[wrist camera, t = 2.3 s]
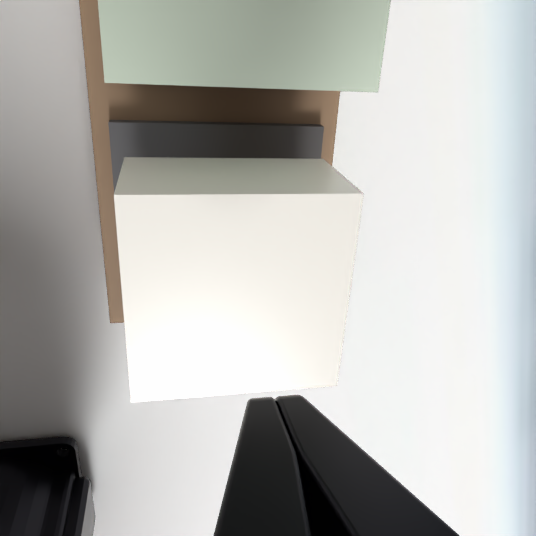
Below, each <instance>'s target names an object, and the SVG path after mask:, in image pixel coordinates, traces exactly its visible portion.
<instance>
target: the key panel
mask: <svg viewBox="0 0 536 536" xmlns="http://www.w3.org/2000/svg"><path fill="white" fill-rule="evenodd" d="M79 4H80V15H81V25H82V35H83V46H84V56H85V67H86V77H87V87H88V98H89V108H90V118H91V129H92V139H93V150H94V160H95V170H96V181H97V191H98V201H99V212H100V222H101V233H102V243H103V253H104V264H105V274H106V284H107V295H108V305H109V316H110V323H123V322H124V313H123V301H122V289H121V277H120V265H119V253H118V240H117V228H116V216H115V204H114V192H115V189H116V185H117V182H118V178H119V175H120V171H121V168H122V164H123V160H124V157H169V158H289V159H324V160H325V161H326V162H328V163H329V164H330V165H331V166H332V161H333V151H334V142H335V133H336V124H337V114H338V105H339V96H340V91H323V90H294V89H266V88H237V87H209V86H180V85H151V84H123V83H105V82H104V70H103V58H102V46H101V34H100V22H99V10H98V0H79Z"/></svg>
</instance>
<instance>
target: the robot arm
mask: <svg viewBox="0 0 536 536" xmlns="http://www.w3.org/2000/svg"><path fill="white" fill-rule="evenodd" d="M61 448H67V449H66V450H63V449H61ZM94 523H95V511H94V504H93V497H92V489H91V482H90V480H89V479H88V478H87V477H86V476H85V477H82V475H81V468H80V461H79V454H78V448H77V443H76V441H75V440H74V439H73V438H70V437H53V438H42V439H30V440H19V441H8V442H0V536H93V531H94ZM214 536H459V535H458V534H457V533H456V532H455V531H454V530H453V529H451V528H450V527H449V526H448V525H447V524H446V523H445V522H444V521H442V520H441V519H440V518H439V517H438V516H437V515H436V514H435V513H433V512H432V511H431V510H430V509H429V508H428V507H427V506H426V505H424V504H423V503H422V502H421V501H420V500H419V499H418V498H417V497H415V496H414V495H413V494H412V493H411V492H410V491H409V490H408V489H406V488H405V487H404V486H403V485H402V484H401V483H400V482H399V481H397V480H396V479H395V478H394V477H393V476H392V475H391V474H390V473H388V472H387V471H386V470H385V469H384V468H383V467H382V466H381V465H379V464H378V463H377V462H376V461H375V460H374V459H373V458H371V457H370V456H369V455H368V454H367V453H366V452H365V451H364V450H362V449H361V448H360V447H359V446H358V445H357V444H356V443H355V442H353V441H352V440H351V439H350V438H349V437H348V436H347V435H346V434H344V433H343V432H342V431H341V430H340V429H339V428H338V427H337V426H335V425H334V424H333V423H332V422H331V421H330V420H329V419H328V418H326V417H325V416H324V415H323V414H322V413H321V412H320V411H319V410H317V409H316V408H315V407H314V406H313V405H312V404H311V403H310V402H308V401H307V400H306V399H305V398H304V397H302V396H300V395H289V396H279V397H277V398H276V399H273V398H272V397H264V398H252V399H250V400H249V401H248V402H247V406H246V410H245V414H244V418H243V422H242V426H241V430H240V433H239V437H238V441H237V445H236V449H235V453H234V457H233V461H232V465H231V469H230V473H229V477H228V481H227V485H226V489H225V493H224V497H223V501H222V505H221V509H220V513H219V517H218V520H217V524H216V528H215V532H214Z"/></svg>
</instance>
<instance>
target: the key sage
mask: <svg viewBox="0 0 536 536" xmlns="http://www.w3.org/2000/svg"><path fill="white" fill-rule="evenodd" d="M390 2H391V0H98V10H99V22H100V34H101V46H102V58H103V70H104V82H105V83H123V84H151V85H180V86H209V87H237V88H266V89H294V90H323V91H352V92H378V88H379V81H380V74H381V67H382V60H383V52H384V45H385V38H386V31H387V24H388V17H389V9H390Z"/></svg>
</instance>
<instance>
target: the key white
mask: <svg viewBox="0 0 536 536" xmlns="http://www.w3.org/2000/svg"><path fill="white" fill-rule="evenodd" d="M363 196H364V193H363V192H361V191H360V190H359V189H358V188H357V187H356V186H354V185H353V184H352V183H351V182H350V181H349V180H347V179H346V178H345V177H344V176H343V175H342V174H340V173H339V172H338V171H337V170H336V169H335V168H333V167H332V166H331V165H330V164H329V163H328V162H326V161H325V160H324V159H289V158H169V157H124V160H123V164H122V168H121V171H120V175H119V178H118V182H117V185H116V189H115V192H114V204H115V216H116V228H117V240H118V253H119V265H120V277H121V289H122V301H123V313H124V325H125V338H126V350H127V362H128V374H129V386H130V398H131V403H134V402H146V401H159V400H171V399H183V398H196V397H208V396H221V395H233V394H245V393H258V392H270V391H282V390H295V389H307V388H320V387H332V386H337V382H338V375H339V368H340V361H341V354H342V347H343V339H344V332H345V325H346V318H347V311H348V303H349V296H350V289H351V282H352V275H353V268H354V260H355V253H356V246H357V239H358V232H359V225H360V217H361V210H362V203H363Z"/></svg>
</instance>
